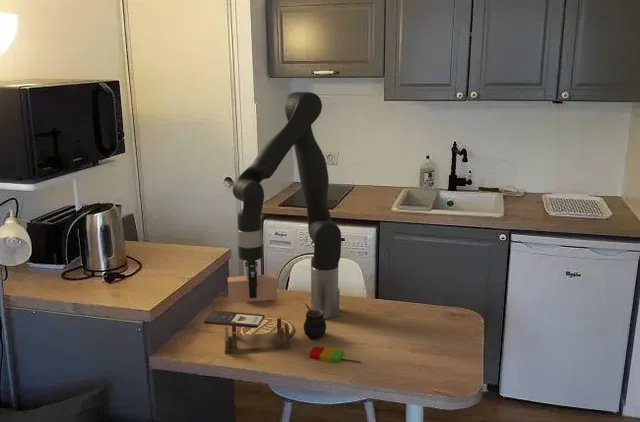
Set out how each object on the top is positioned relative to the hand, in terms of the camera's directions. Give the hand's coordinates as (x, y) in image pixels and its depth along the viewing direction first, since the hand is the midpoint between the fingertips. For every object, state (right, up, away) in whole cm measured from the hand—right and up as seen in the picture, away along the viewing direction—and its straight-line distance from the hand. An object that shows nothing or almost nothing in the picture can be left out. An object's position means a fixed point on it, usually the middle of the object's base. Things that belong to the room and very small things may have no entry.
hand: (252, 294), depth 187 cm
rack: (+2, -15, -5) cm, 16 cm away
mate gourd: (+19, -13, +1) cm, 24 cm away
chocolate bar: (-8, -11, +12) cm, 18 cm away
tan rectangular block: (0, -1, 0) cm, 1 cm away
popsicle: (+26, -17, -13) cm, 34 cm away
